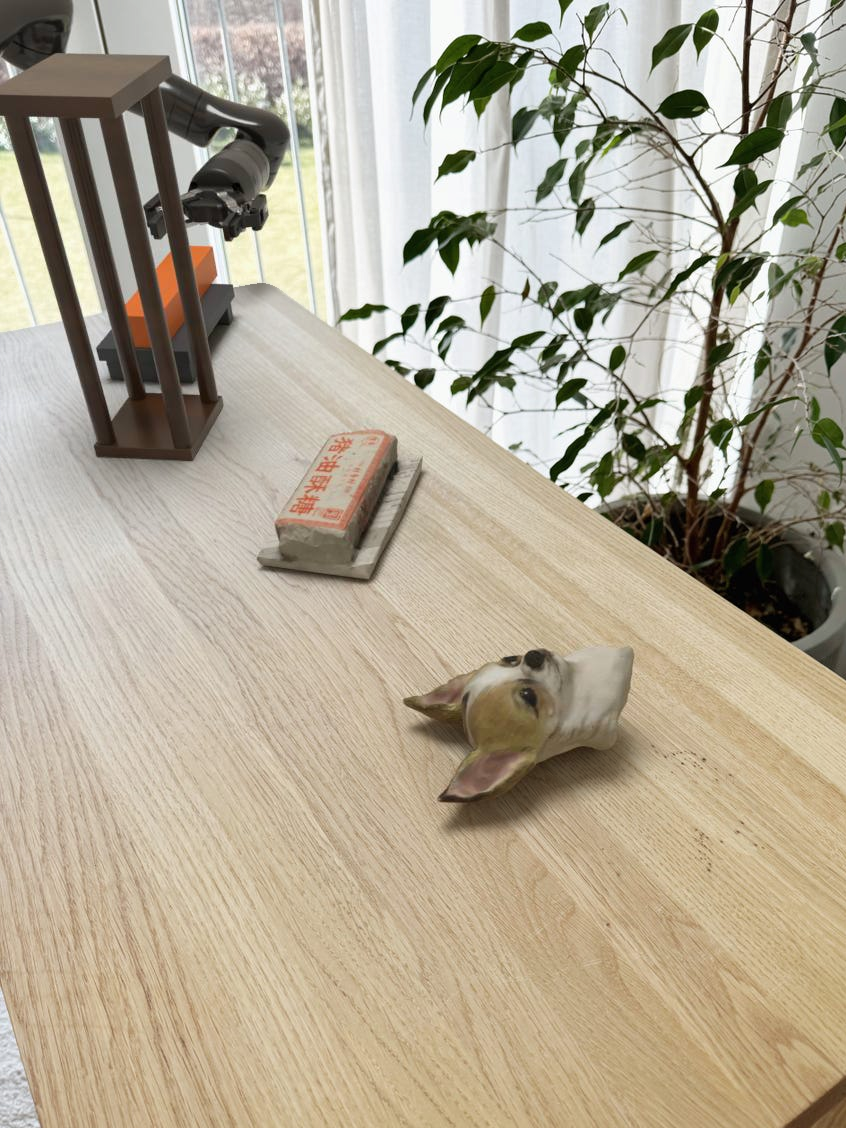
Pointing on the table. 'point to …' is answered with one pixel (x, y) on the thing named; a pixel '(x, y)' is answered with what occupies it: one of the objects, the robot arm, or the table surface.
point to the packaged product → (344, 506)
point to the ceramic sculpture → (529, 713)
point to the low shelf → (174, 338)
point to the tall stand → (105, 93)
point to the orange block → (171, 293)
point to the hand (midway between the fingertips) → (190, 232)
